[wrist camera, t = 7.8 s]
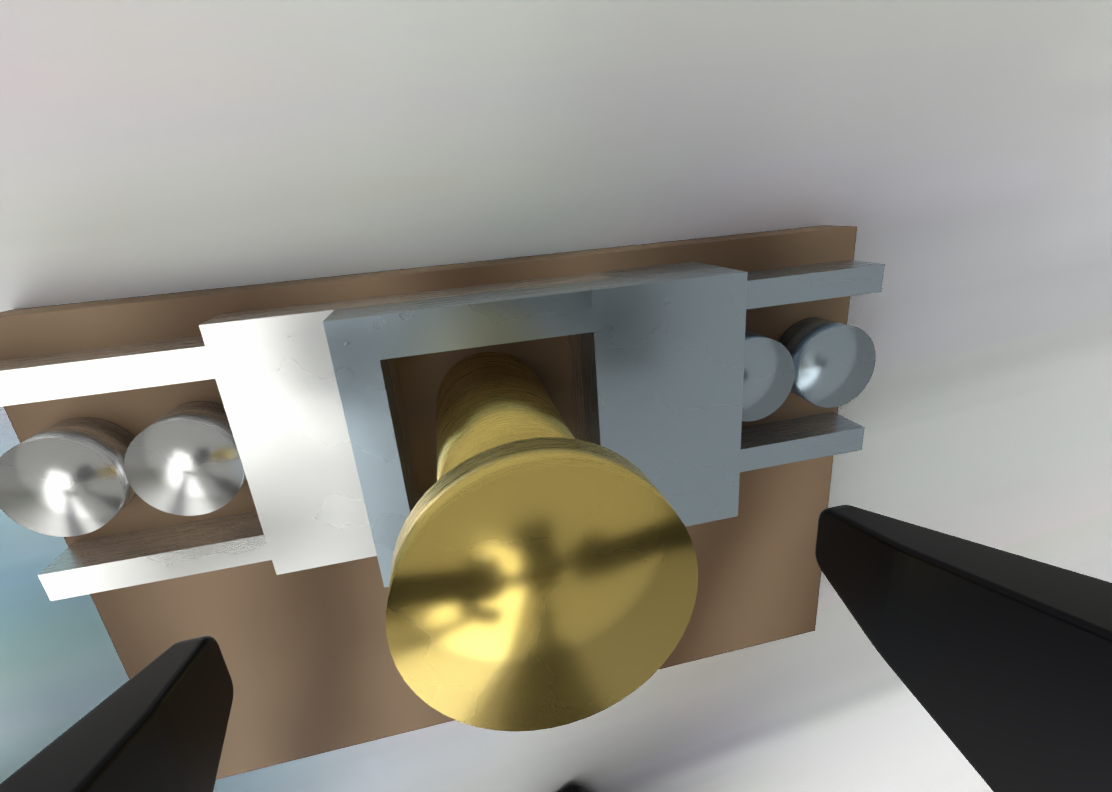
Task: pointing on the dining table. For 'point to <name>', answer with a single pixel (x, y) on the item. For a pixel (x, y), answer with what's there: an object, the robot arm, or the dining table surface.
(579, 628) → the pin
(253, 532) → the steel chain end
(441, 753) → the dining table surface
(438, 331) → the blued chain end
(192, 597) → the board
